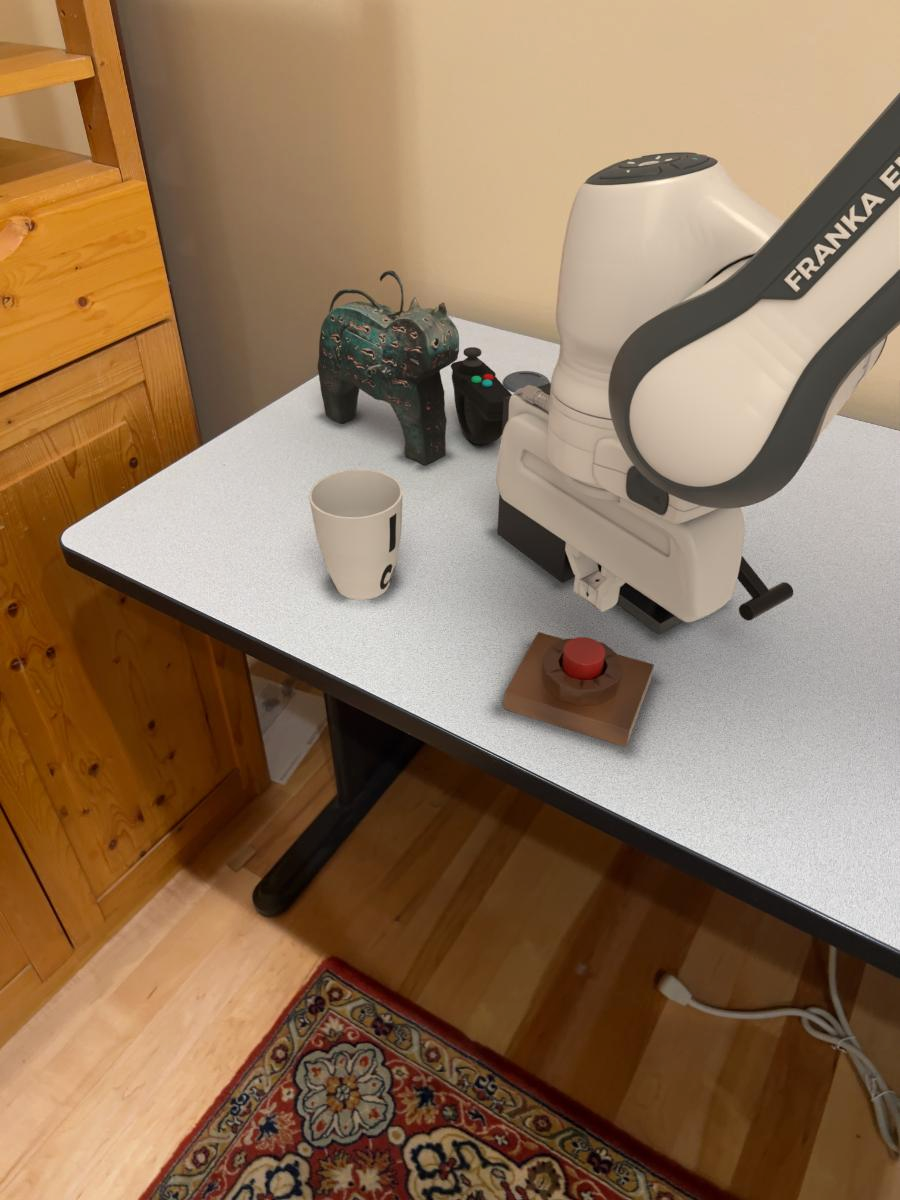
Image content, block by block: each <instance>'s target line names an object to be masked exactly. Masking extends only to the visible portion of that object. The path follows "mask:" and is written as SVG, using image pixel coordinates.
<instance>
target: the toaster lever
mask: <svg viewBox="0 0 900 1200" xmlns="http://www.w3.org/2000/svg"><path fill="white" fill-rule="evenodd" d="M737 581H738V582H739V583H740V585H742V587H743V589H745V591H746V592H747V593H748V594H749V596H750V597H751V598H750V599H749V600H747V601H745V602H744V603H742V604H740V605H739V606H738V613H739V615H740V616H741V618H742V619H743V620H745V621H747V622H750V621H752V620H754V619H756V618H758V617H760V616H762V615H763V614H765V613H767V612H769V611H771V610H772V609H774V608H776V607H777V606H779V605H781V604H782V603H785V602H786V601H788V600H790V599H791V598H793V597H794V589H793V586H792V585H791V584H790V583H789V582H785V581H782V582H780V583H778V584H776V585H774V586H772V587H771V588H769V587H768V586H766V584H765V582H763V580H762V579H761V578H760V577H759V575H758V574H757V572H756V571H755V570H754V569H753V568H752V566H751V565H750V564H749V563H748V561H747V559H745V558H744V556H743V555H742V557H741V563H740V568H739V573H738V578H737Z"/></svg>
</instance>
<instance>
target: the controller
mask: <svg viewBox="0 0 900 1200" xmlns="http://www.w3.org/2000/svg"><path fill="white" fill-rule="evenodd" d="M463 355H464V356H465V357H466V358H465V359H463V360H458V361H454V362H453V363H451V364H450V368H451V370H452V372H451V381H452V387H453V397H454V405H455V411H456V415H457V418H458V420H457V421H458V423H459V426H460V428H461V431H462V433H463V435H464V436H465V438H466V439H467V440H468V441H470V442H471V443H473V444H476V445H484V444H488V443H493V442H496V441H498V440H499V439H500V438H502V426H503V405H504V398H505V397H508V396H511V395H513V394H512V393H511V392H510V390H509V389H507V387H506V386H504V384H503V383H502V382H501V380H499V379H498V378H497V376H496V374H497V373H496V372H495V371H494V370H493V369H491V367H490V366H489V365H488V364H486V363H485V362H484V361H482V360H481V359H480V358H478V357H480V356H482V349H480V348H479V347H475V346H471V347H466V348H464V349H463Z"/></svg>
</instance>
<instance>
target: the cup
mask: <svg viewBox="0 0 900 1200" xmlns="http://www.w3.org/2000/svg"><path fill="white" fill-rule="evenodd" d="M308 499H309V505H310V508H311V509H310V510H311V515H312V519H313V520H312V521H313V526H314V531H315V537H316V540H317V543H318V546H319V549H320V552H321V556H322V558H323V563H324V566H325V568H326V570H327V573H328V574H329V576H330V578H331V580H332V582H333V584H334V586H335V588H336V590H337V592H338V593H339V594H340V595H342V596H343V597H344V598H347V599H350V600H353V601H354V600H355V601H367V600H371V599H375V598H378V597H380V596H382V595H383V594H384V593H386V592H387V590H388V589H389V588H390V585H391V582H392V578H393V576H394V573H395V570H396V568H397V567H396V566H397V563H398V557H399V549H400V543H401V538H402V527H403V526H402V525H403V523H402V522H403V487H402V484H401V483H400V482H399V481H398V480H397V479H396V478H395V477H394V476H391V475H390V474H387V473H385V472H383V471H380V470H374V469H367V468H355V469H354V468H353V469H345V470H341V471H340V470H339V471H336V472H334V473H330V474H327V475H326V476H323V477H322V478H320V479H319V480H317V481H316V482H315V483H314V484H313V485H312V487H310V490H309V494H308Z"/></svg>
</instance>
